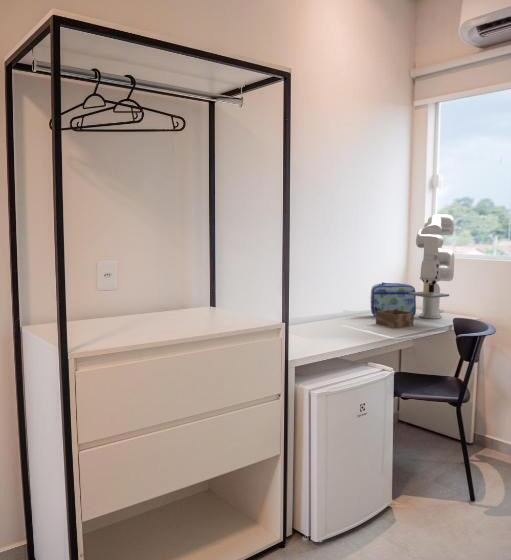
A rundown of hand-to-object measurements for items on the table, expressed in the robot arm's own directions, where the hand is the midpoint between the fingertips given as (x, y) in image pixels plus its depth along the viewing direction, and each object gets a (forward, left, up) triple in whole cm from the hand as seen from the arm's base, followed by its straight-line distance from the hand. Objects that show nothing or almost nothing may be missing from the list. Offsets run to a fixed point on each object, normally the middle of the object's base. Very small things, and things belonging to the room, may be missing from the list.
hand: (429, 291), depth 287 cm
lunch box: (-2, -28, -20) cm, 34 cm away
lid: (0, 0, -2) cm, 2 cm away
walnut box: (+17, -8, -19) cm, 27 cm away
